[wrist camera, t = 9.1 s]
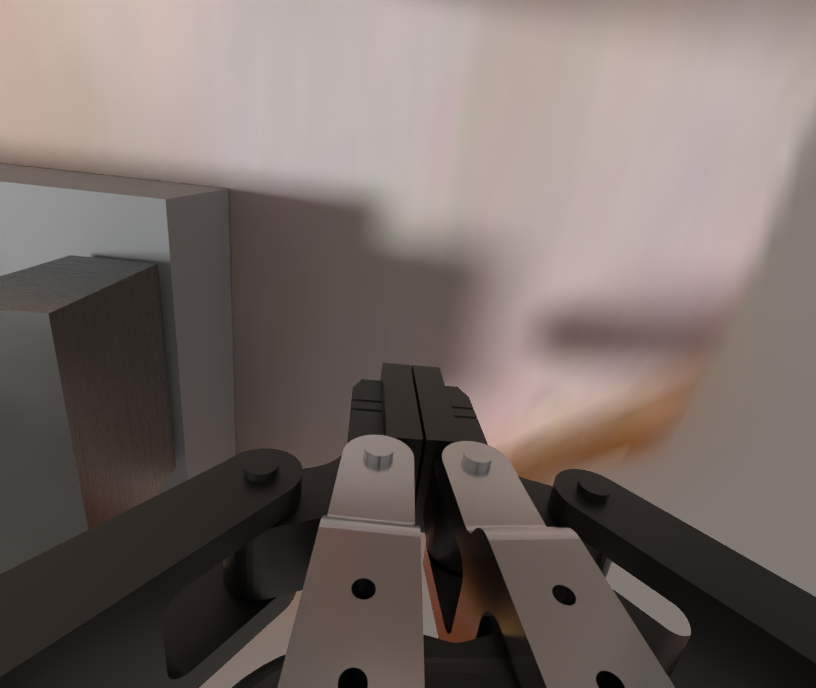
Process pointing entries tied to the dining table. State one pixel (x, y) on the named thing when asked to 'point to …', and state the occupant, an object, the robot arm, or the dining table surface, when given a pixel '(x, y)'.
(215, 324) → the gauge housing
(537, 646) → the robot arm
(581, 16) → the dining table surface
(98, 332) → the plunger
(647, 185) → the dining table surface
